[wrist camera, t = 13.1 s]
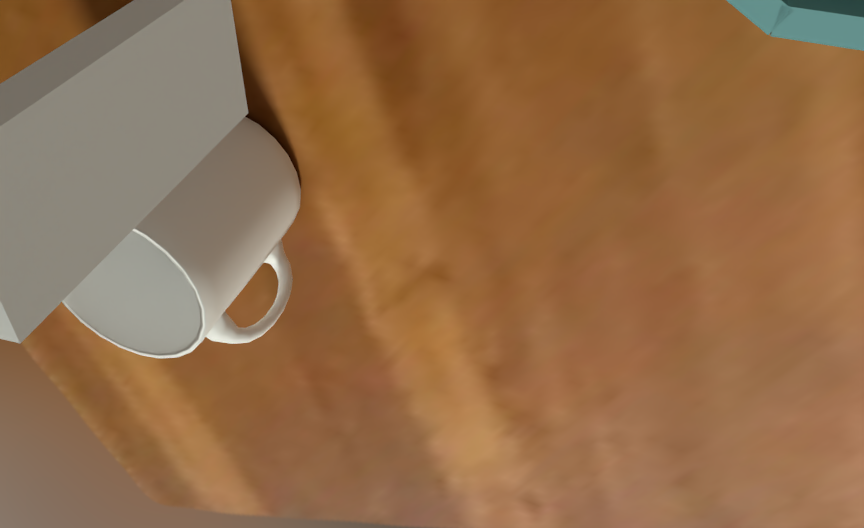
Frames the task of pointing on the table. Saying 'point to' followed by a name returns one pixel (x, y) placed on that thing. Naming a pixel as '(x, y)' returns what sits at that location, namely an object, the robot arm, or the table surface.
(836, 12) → the bowl
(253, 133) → the mug
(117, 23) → the robot arm
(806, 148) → the table surface
